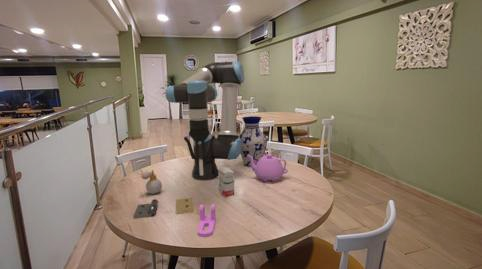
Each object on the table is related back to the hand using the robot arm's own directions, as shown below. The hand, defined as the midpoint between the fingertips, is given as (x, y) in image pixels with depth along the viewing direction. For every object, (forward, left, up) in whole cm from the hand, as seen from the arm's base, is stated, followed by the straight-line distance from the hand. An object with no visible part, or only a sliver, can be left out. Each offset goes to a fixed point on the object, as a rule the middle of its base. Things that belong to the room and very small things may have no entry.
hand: (201, 174), depth 117 cm
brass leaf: (+8, 0, -15) cm, 17 cm away
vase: (-33, -54, -15) cm, 65 cm away
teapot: (-36, -26, -15) cm, 47 cm away
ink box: (-12, -12, -15) cm, 22 cm away
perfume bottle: (+23, -19, -15) cm, 34 cm away
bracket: (-1, +18, -15) cm, 23 cm away
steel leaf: (+24, 0, -15) cm, 28 cm away
